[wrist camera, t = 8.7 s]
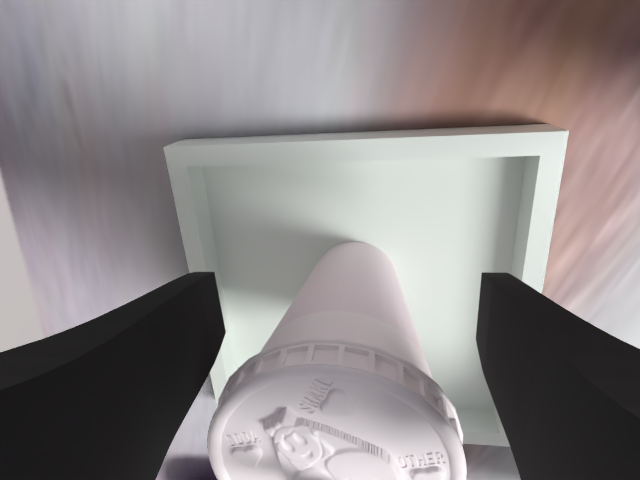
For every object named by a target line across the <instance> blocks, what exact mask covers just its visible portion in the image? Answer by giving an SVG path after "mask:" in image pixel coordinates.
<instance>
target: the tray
mask: <svg viewBox="0 0 640 480" xmlns="http://www.w3.org/2000/svg"><path fill="white" fill-rule="evenodd" d="M568 134H569V131H568V130H565V129H562V128H559V127H557V126H554V125H551V124H532V125H508V126H484V127H461V128H437V129H413V130H390V131H366V132H342V133H319V134H295V135H271V136H247V137H224V138H200V139H183V140H180V141H177V142H175V143H172V144H170V145H167V146H165V147H163V149H164V154H165V159H166V164H167V168H168V173H169V178H170V183H171V188H172V192H173V197H174V202H175V207H176V212H177V217H178V221H179V226H180V231H181V236H182V241H183V246H184V250H185V255H186V260H187V265H188V270H189V273H192V272H215V278H216V283H217V288H218V293H219V299H220V304H221V309H222V315H223V320H224V325H225V330H226V334H225V336H224V339H223V342H222V345H221V348H220V351H219V353H218V356H217V358H216V361H215V363H214V365H213V367H212V369H211V371H210V376H211V381H212V386H213V390H214V395H215V400H216V405H217V407H218V399H219V397H220V395H221V393H222V391H223V389H224V387H225V385H226V383H227V381H228V379H229V377H230V376H231V375H232V374H233V373H234V372H235V371H236V370H237V369H238V368H239V367H240V366H241V365H243V364H244V363H245V362H246V361H247V360H248V359H249V358H251V357H253V356H254V355H256V354H258V353H260V352H261V350H262V348H263V347H264V345H265V343H266V342H267V341H268V339H269V338H270V336H271V335H272V333H273V332H274V330H275V329H276V327H277V325H278V324H279V322H280V321H281V319H282V318H283V316H284V315H285V313H286V311H287V310H288V308H289V307H290V305H291V304H292V302H293V301H294V299H295V297H296V296H297V294H298V293H299V291H300V290H301V288H302V287H303V285H304V283H305V282H306V280H307V279H308V277H309V276H310V274H311V273H312V271H313V269H314V268H315V266H316V265H317V263H318V262H319V260H320V259H321V257H322V256H323V255H324V254H325V253H326V252H327V251H328V250H329V249H331V248H332V247H334V246H336V245H339V244H342V243H346V242H362V243H367V244H370V245H372V246H375V247H376V248H378V249H380V250H381V251H382V252H384V253H385V254H386V255H387V256H388V258H389V259H390V260H391V262H392V264H393V265H394V268H395V271H396V274H397V277H398V280H399V283H400V285H401V288H402V291H403V294H404V297H405V300H406V303H407V306H408V309H409V312H410V315H411V318H412V321H413V324H414V327H415V330H416V332H417V335H418V338H419V341H420V344H421V347H422V350H423V353H424V356H425V359H426V362H427V364H428V367H429V369H430V372H431V375H432V379H433V380H434V381H435V382H436V383H438V385H439V386H440V387H441V389H442V390H443V392H444V393H445V395H446V396H447V397H448V399H449V400H450V402H451V403H452V405H453V406H454V407H455V409H456V413H457V416H458V419H459V423H460V426H461V429H462V432H463V444H475V445H490V446H504V447H510V444H509V442H508V439H507V436H506V434H505V431H504V428H503V426H502V423H501V420H500V418H499V415H498V412H497V410H496V407H495V404H494V402H493V399H492V396H491V394H490V391H489V388H488V385H487V383H486V380H485V377H484V374H483V371H482V366H481V362H480V358H479V353H478V348H477V343H476V329H477V319H478V308H479V297H480V286H481V275H482V272H492V273H509V274H511V275H513V276H514V277H516V278H518V279H519V280H521V281H523V282H524V283H526V284H527V285H529V286H530V287H532V288H533V289H535V290H536V291H538V292H539V293H541V294H542V289H543V283H544V277H545V271H546V265H547V259H548V253H549V247H550V241H551V235H552V229H553V223H554V218H555V212H556V206H557V200H558V194H559V188H560V182H561V176H562V170H563V164H564V158H565V152H566V146H567V140H568Z"/></svg>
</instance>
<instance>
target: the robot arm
mask: <svg viewBox="0 0 640 480" xmlns="http://www.w3.org/2000/svg"><path fill="white" fill-rule="evenodd" d="M225 334H226V330H225V325H224V320H223V315H222V309H221V304H220V299H219V293H218V288H217V283H216V278H215V272H192V273H189V274H186V275H184V276H182V277H179V278H177V279H175V280H173V281H171V282H169V283H167V284H165V285H163V286H161V287H159V288H157V289H155V290H153V291H151V292H149V293H147V294H145V295H143V296H141V297H139V298H137V299H135V300H133V301H131V302H129V303H127V304H125V305H123V306H121V307H119V308H116V309H114V310H112V311H110V312H108V313H106V314H104V315H102V316H99V317H97V318H95V319H93V320H90V321H88V322H86V323H83V324H81V325H79V326H76V327H74V328H71V329H68V330H66V331H63V332H61V333H58V334H55V335H53V336H50V337H47V338H44V339H42V340H38V341H35V342H32V343H29V344H26V345H22V346H19V347H16V348H13V349H10V350H7V351H4V352H1V353H0V480H155V479H156V477H157V475H158V472H159V470H160V467H161V465H162V463H163V460H164V458H165V456H166V453H167V451H168V449H169V447H170V445H171V443H172V441H173V439H174V437H175V435H176V433H177V431H178V429H179V427H180V425H181V423H182V422H183V420H184V418H185V416H186V414H187V413H188V411H189V409H190V407H191V405H192V404H193V402H194V400H195V398H196V396H197V395H198V393H199V391H200V389H201V387H202V386H203V384H204V382H205V380H206V378H207V376H208V374H209V373H210V371H211V369H212V367H213V365H214V363H215V361H216V358H217V356H218V353H219V351H220V348H221V345H222V342H223V339H224V336H225ZM476 343H477V348H478V353H479V358H480V362H481V366H482V371H483V374H484V377H485V380H486V383H487V385H488V388H489V391H490V394H491V396H492V399H493V402H494V404H495V407H496V410H497V412H498V415H499V418H500V420H501V423H502V426H503V428H504V431H505V434H506V436H507V439H508V442H509V444H510V447H511V450H512V452H513V455H514V458H515V461H516V465H517V468H518V471H519V474H520V478H521V480H640V349H638V348H636V347H634V346H632V345H630V344H628V343H626V342H623V341H621V340H619V339H617V338H616V337H614V336H612V335H610V334H608V333H606V332H604V331H602V330H601V329H599V328H597V327H595V326H593V325H592V324H590V323H588V322H586V321H584V320H583V319H581V318H579V317H578V316H576V315H574V314H573V313H571V312H569V311H568V310H566V309H564V308H563V307H561V306H560V305H558V304H556V303H555V302H553V301H552V300H550V299H549V298H547V297H546V296H544V295H542V294H541V293H539V292H538V291H536V290H535V289H533V288H532V287H530V286H529V285H527V284H526V283H524V282H523V281H521V280H519V279H518V278H516V277H514V276H513V275H511V274H509V273H492V272H482V275H481V286H480V297H479V308H478V319H477V329H476Z"/></svg>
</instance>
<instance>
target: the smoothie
mask: <svg viewBox="0 0 640 480" xmlns="http://www.w3.org/2000/svg"><path fill="white" fill-rule="evenodd" d="M462 445H463V432H462V429H461V426H460V423H459V419H458V416H457V413H456V409H455V407H454V406H453V405H452V403H451V402H450V400H449V399H448V397H447V396H446V395H445V393H444V392H443V390H442V389H441V387H440V386H439V385H438V383H436V382H435V381H434V380H433V379H432V375H431V372H430V369H429V367H428V364H427V362H426V359H425V356H424V353H423V350H422V347H421V344H420V341H419V338H418V335H417V332H416V330H415V327H414V324H413V321H412V318H411V315H410V312H409V309H408V306H407V303H406V300H405V297H404V294H403V291H402V288H401V285H400V283H399V280H398V277H397V274H396V271H395V268H394V265H393V264H392V262H391V260H390V259H389V258H388V256H387V255H386V254H385V253H384V252H382V251H381V250H380V249H378V248H376V247H375V246H372V245H370V244H367V243H362V242H346V243H342V244H339V245H336V246H334V247H332V248H331V249H329V250H328V251H327V252H326V253H325V254H324V255H323V256H322V257H321V259H320V260H319V262H318V263H317V265H316V266H315V268H314V269H313V271H312V273H311V274H310V276H309V277H308V279H307V280H306V282H305V283H304V285H303V287H302V288H301V290H300V291H299V293H298V294H297V296H296V297H295V299H294V301H293V302H292V304H291V305H290V307H289V308H288V310H287V311H286V313H285V315H284V316H283V318H282V319H281V321H280V322H279V324H278V325H277V327H276V329H275V330H274V332H273V333H272V335H271V336H270V338H269V339H268V341H267V342H266V343H265V345H264V347H263V348H262V350H261V352H260V353H258V354H256V355H254V356H253V357H251V358H249V359H248V360H247V361H246V362H245V363H244V364H243V365H241V366H240V367H239V368H238V369H237V370H236V371H235V372H234V373H233V374H232V375H231V376H230V377H229V379H228V381H227V383H226V385H225V387H224V389H223V391H222V393H221V395H220V397H219V399H218V407H217V409H216V411H215V413H214V415H213V418H212V420H211V422H210V426H209V430H208V438H207V448H208V455H209V460H210V463H211V466H212V469H213V471H214V474H215V476H216V478H217V479H218V480H466V477H467V467H466V459H465V455H464V450H463V446H462Z"/></svg>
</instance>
